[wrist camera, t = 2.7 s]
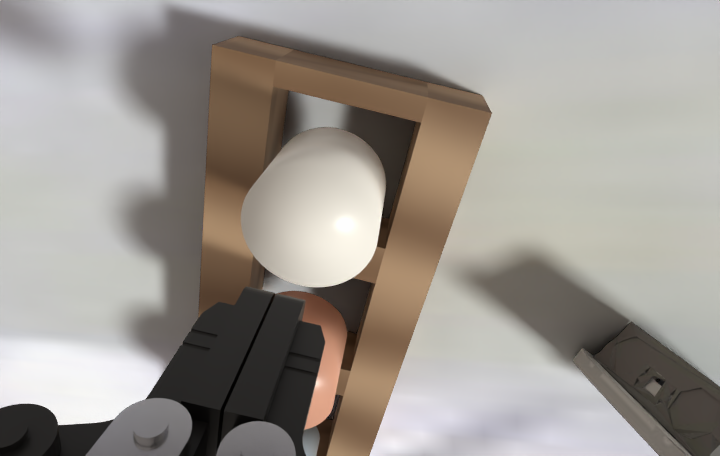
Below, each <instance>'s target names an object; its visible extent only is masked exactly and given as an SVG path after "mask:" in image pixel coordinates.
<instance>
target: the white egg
mask: <svg viewBox="0 0 720 456" xmlns="http://www.w3.org/2000/svg"><path fill="white" fill-rule="evenodd" d="M385 191H386V177H385V172H384V168H383V166H382V163H381V161H380V159H379V157H378V156H377V154H376V153H375V151H374V150H373V149H372V148H371V147H370V146H369V145H368V144H367V143H366V142H365V141H364V140H362V139H361V138H359V137H358V136H356V135H355V134H352V133H350V132H348V131H345V130H342V129H338V128H331V127H321V128H314V129H309V130H307V131H304V132H302V133H300V134H298V135H296V136H295V137H293V138H292V139H291V140H290V141H289V142H288V143H287V144H285V146H284V147H283V148H282V149H281V151H280V152H279V153H278V154H277V156H276V157H275V158H274V159H273V161H272V162H271V163H270V165H269V166H268V167H267V168H266V170H265V171H264V172H263V173H262V175H261V176H260V177H259V178H258V180H257V181H256V182H255V183H254V185H253V186H252V187H251V189H250V190H249V191H248V193H247V195H246V197H245V199H244V202H243V205H242V211H241V227H242V232H243V236H244V239H245V241H246V244H247V246H248V248H249V249H250V251H251V253H252V254H253V255H254V257H255V258H256V259H257V260H258V261H259V263H260V264H261V265H262V266H264V267H265V268H266V269H267V270H268V271H270V272H271V273H273V274H274V275H276V276H277V277H279V278H281V279H283V280H285V281H288V282H290V283H293V284H297V285H301V286H306V287H328V286H333V285H337V284H341V283H343V282H346V281H348V280H350V279H351V278H353V277H355V276H356V275H357V274H359V273H360V272H361V271H362V270H363V269H364V268H365V267H366V266H367V264H368V263H369V262H370V260H371V259H372V257H373V255H374V252H375V250H376V247H377V242H378V236H379V230H380V223H381V217H382V210H383V204H384V198H385Z"/></svg>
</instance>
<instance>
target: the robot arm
mask: <svg viewBox="0 0 720 456" xmlns="http://www.w3.org/2000/svg"><path fill="white" fill-rule="evenodd" d="M304 308H305V300H303V299H298V298H294V297H290V296H286V295H281V294H276V296H275V293H272V292H268V291H264V290H260V289H255V288H251V287H247V286H246V287H245V288H244V289H243V291H242V293H241V295H240V296H239V298H238V300H237V302H236V304H235V305H231V304H227V303H222V302H218V303H216V304H215V305H213V306H212V307H210V308H209V309H207V310H206V311H204V312H203V313H202V314H201V315H200V317H199V318H198V320H197V321H196V323H195V324H194V326H193V328H192V330H191V332H189V334H188V335H187V337H186V338H185V340H184V341H183V345H181V346H180V348H179V349H178V351H177V352H176V354H175V355H174V357H173V358H172V360H171V362H170V363H169V365H168V366H167V368H166V369H165V371H164V372H163V374H162V375H161V377H160V379H159V380H158V382H157V383H156V385H155V386H154V388H153V389H152V391H151V392H150V394H149V395H148V397H147V398H146V399H145V400H142V401H139V402H137V403H135V404H132V405H131V406H129V407H127V408H126V409H124V410H123V411H122V412H121V413H120V414H119V415H118V416H117V417H116V418H115V419H113V420H110V421H106V422H100V423H89V424H73V425H58V422H57V419H56V417H55V415H54V414H53V413H52V412H51V411H50V410H49V409H47V408H45V407H43V406H39V405H35V404H17V405H11V406H7V407H3V408H0V456H306V454H305V451H304V447H303V434H304V430H305V426H306V421H307V417H308V413H309V409H310V405H311V401H312V397H313V393H314V389H315V385H316V381H317V376H318V372H319V368H320V363H321V359H322V355H323V350H324V346H325V339H324V335H323V332H322V328H321V325H316V324H312V323H308V322H304V321H302V318H303V313H304Z"/></svg>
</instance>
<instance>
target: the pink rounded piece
mask: <svg viewBox="0 0 720 456" xmlns="http://www.w3.org/2000/svg"><path fill="white" fill-rule="evenodd" d="M278 294H281V295H286V296H290V297H294V298H298V299H303V300H305V308H304V313H303V318H302V321H304V322H308V323H312V324H316V325H321V328H322V332H323V335H324V339H325V346H324V350H323V355H322V359H321V363H320V368H319V372H318V376H317V381H316V385H315V389H314V393H313V397H312V401H311V405H310V409H309V413H308V417H307V421H306V426H305V430H306V429H309V428H312V427H314V426H317V425H318V424H320V423H321V422H323V421H324V420H325V419H326V418H327V417H328V416H329V414H330V413H331V411H332V408H333V404H334V399H335V394H336V389H337V384H338V379H339V374H340V369H341V364H342V359H343V354H344V349H345V344H346V339H347V328H346V324H345V321H344V319H343V317H342V315H341V314H340V313H339V311H338V310H337V309H336V308H335V307H334V306H333V305H332V304H331V303H329V302H328V301H326V300H325V299H323V298H321V297H319V296H316V295H314V294H311V293H307V292H301V291H287V292H281V293H278ZM275 296H276V294H275Z"/></svg>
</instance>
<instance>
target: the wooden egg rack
mask: <svg viewBox="0 0 720 456" xmlns="http://www.w3.org/2000/svg"><path fill="white" fill-rule="evenodd" d="M289 91H293V92H297V93H302V94H306V95H310V96H314V97H318V98H322V99H326V100H330V101H334V102H338V103H342V104H347V105H351V106H355V107H359V108H363V109H367V110H371V111H375V112H379V113H383V114H388V115H392V116H396V117H400V118H404V119H408V120H412V121H416V124H415V128H414V131H413V135H412V138H411V142H410V146H409V149H408V153H407V156H406V160H405V164H404V167H403V171H402V174H401V178H400V182H399V185H398V189H397V192H396V196H395V200H394V203H393V207H392V210H391V214H390V218H389V219H388V218H384V217H381V223H380V230H379V236H378V242H377V247H376V250H375V252H374V255H373V257H372V259H371V260H370V262H369V263H368V264H367V266H366V267H365V268H364V269H363V270H362V271H361V272H360V273H359V274H357V275H356V276H355V277H353V278H355V279H359V280H363V281H367V282H371V286H370V289H369V293H368V297H367V300H366V304H365V307H364V311H363V314H362V318H361V322H360V325H359V329H358V332H357V334H356V333H352V332H347V339H346V344H345V349H344V354H343V359H342V364H341V369H340V374H339V379H338V384H337V389H336V394H337V395H340V397H339V401H338V404H337V408H336V411H335V415H334V419H333V420H329V419H325V420H324V421H323V422H321V423H320V424H318V425H317V426H316V427H317V429H318V431H319V435H320V441H319V446H318V450H317V455H316V456H369V455H370V452H371V449H372V447H373V444H374V441H375V438H376V435H377V433H378V430H379V427H380V424H381V421H382V419H383V416H384V413H385V410H386V407H387V405H388V402H389V399H390V396H391V393H392V391H393V388H394V385H395V382H396V380H397V377H398V374H399V371H400V368H401V366H402V363H403V360H404V357H405V354H406V352H407V349H408V346H409V343H410V340H411V338H412V335H413V332H414V329H415V326H416V324H417V321H418V318H419V315H420V313H421V310H422V307H423V304H424V301H425V299H426V296H427V293H428V290H429V287H430V285H431V282H432V279H433V276H434V273H435V271H436V268H437V265H438V262H439V259H440V257H441V254H442V251H443V248H444V245H445V243H446V240H447V237H448V234H449V232H450V229H451V226H452V223H453V220H454V218H455V215H456V212H457V209H458V206H459V204H460V201H461V198H462V195H463V192H464V190H465V187H466V184H467V181H468V178H469V176H470V173H471V170H472V167H473V164H474V162H475V159H476V156H477V153H478V151H479V148H480V145H481V142H482V139H483V137H484V134H485V131H486V128H487V125H488V123H489V120H490V117H491V114H492V112H491V111H490V109H489V107H488V105H487V103H486V101H485V99H484V97H483V96H482V95H478V94H474V93H470V92H466V91H462V90H458V89H453V88H449V87H445V86H441V85H437V84H433V83H429V82H425V81H421V80H417V79H413V78H408V77H404V76H400V75H396V74H392V73H388V72H384V71H380V70H376V69H372V68H368V67H363V66H359V65H355V64H351V63H347V62H343V61H339V60H335V59H331V58H327V57H323V56H318V55H314V54H310V53H306V52H302V51H298V50H294V49H290V48H286V47H282V46H278V45H273V44H269V43H265V42H261V41H257V40H253V39H249V38H245V37H241V36H237V37H234V38H231V39H228V40H225V41H222V42H219V43H216V44H213V45H212V57H211V77H210V97H209V116H208V136H207V156H206V176H205V196H204V216H203V236H202V255H201V275H200V295H199V315H198V318H199V317H200V315H201V314H202V313H203V312H204V311H206V310H207V309H209V308H210V307H212V306H213V305H215V304H216V303H218V302H222V303H227V304H231V305H235V304H236V302H237V300H238V298H239V296H240V295H241V293H242V291H243V289H244V288H245V287H246V286H247V287H251V288H255V289H260V290H262V287H263V279H264V272H265V267H264V266H262V265H261V264H260V263H259V261H258V260H257V259H256V258H255V257H254V255H253V254H252V253H251V251H250V249H249V248H248V246H247V244H246V241H245V239H244V236H243V232H242V227H241V211H242V205H243V202H244V199H245V197H246V195H247V193H248V191H249V190H250V189H251V187H252V186H253V185H254V183H255V182H256V181H257V180H258V178H259V177H260V176H261V175H262V173H263V172H264V171H265V170H266V168H267V167H268V166H269V165H270V163H271V162H272V161H273V159H274V158H275V157H276V156H277V154H278V153H279V152H280V151H281V145H282V138H283V130H284V123H285V115H286V108H287V100H288V93H289Z"/></svg>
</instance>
